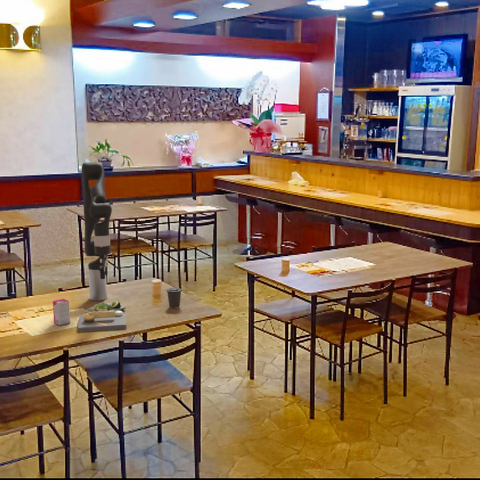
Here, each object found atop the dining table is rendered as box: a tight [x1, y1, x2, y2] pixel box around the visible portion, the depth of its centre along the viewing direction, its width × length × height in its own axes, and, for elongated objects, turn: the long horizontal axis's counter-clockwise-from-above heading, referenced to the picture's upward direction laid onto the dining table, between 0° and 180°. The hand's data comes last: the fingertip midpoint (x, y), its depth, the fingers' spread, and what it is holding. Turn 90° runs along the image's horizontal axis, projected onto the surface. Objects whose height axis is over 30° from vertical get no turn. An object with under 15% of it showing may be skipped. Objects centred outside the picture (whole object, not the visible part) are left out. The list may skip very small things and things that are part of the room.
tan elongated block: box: [83, 310, 115, 322], centre depth 294 cm, size 5×14×4 cm, turn 103°
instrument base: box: [77, 310, 127, 333], centre depth 295 cm, size 18×22×4 cm
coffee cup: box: [166, 287, 183, 309], centre depth 321 cm, size 8×8×10 cm
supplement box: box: [52, 298, 71, 327], centre depth 295 cm, size 6×6×12 cm
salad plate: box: [86, 300, 127, 313], centre depth 314 cm, size 19×18×5 cm
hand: (104, 276), depth 301 cm, fingers open, 8 cm apart
